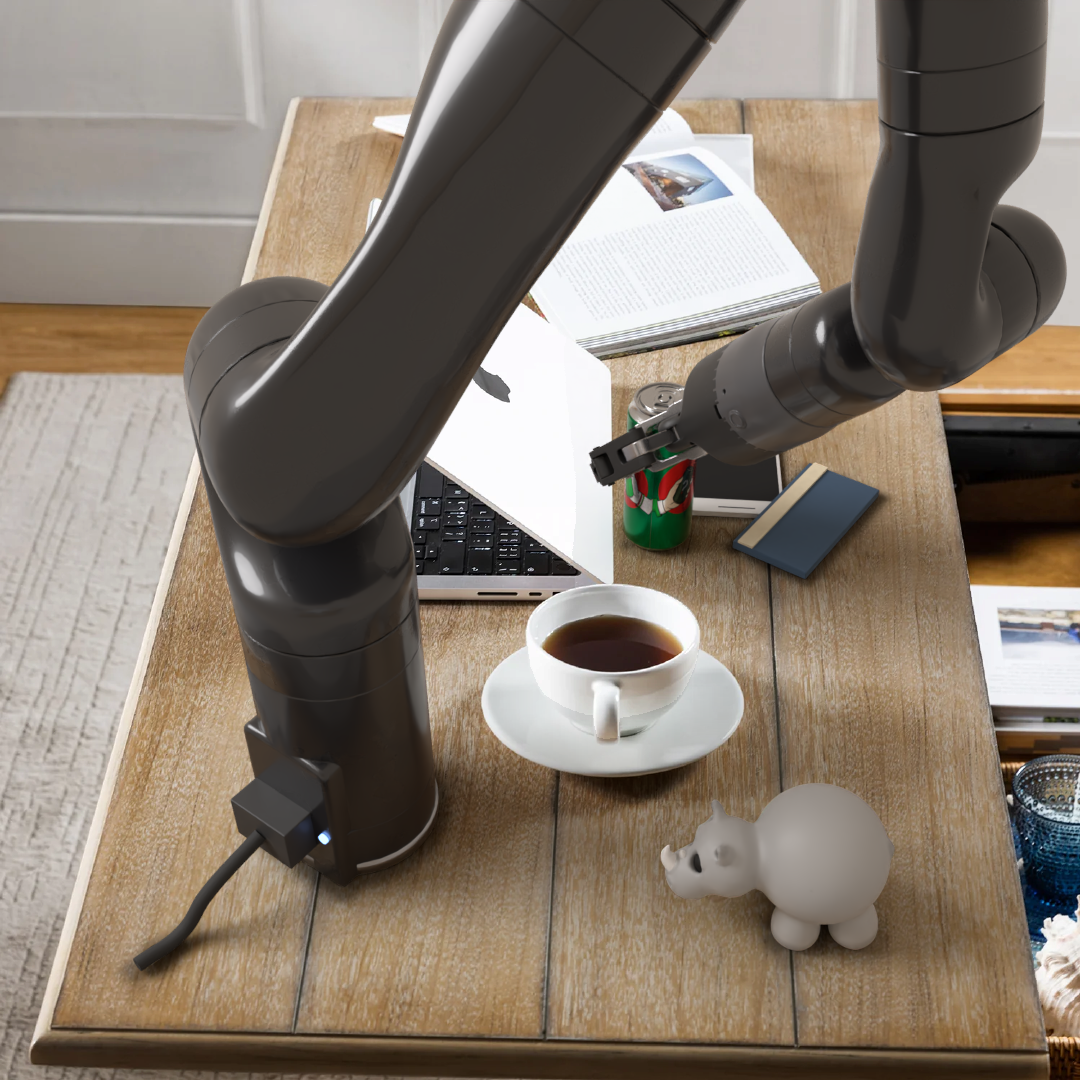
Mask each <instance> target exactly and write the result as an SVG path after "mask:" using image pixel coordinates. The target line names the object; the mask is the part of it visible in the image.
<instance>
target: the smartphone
mask: <svg viewBox="0 0 1080 1080" xmlns="http://www.w3.org/2000/svg"><path fill="white" fill-rule="evenodd" d="M781 473H782V472H781V462H780V454H779V455H776V456H774V457H771V458H769V459H767V460H764V461H762V462H759V463H757V464H753V465H748V466H736V465H731V464H727V463H724V462H722V461H719V460H717V459H716V458H714V457H712V456H711V455H710V454H707V455H705V456H702V457H700V458H697V466H696V477H695V489H694V500H693V511H692V516H703V517H720V518H721V517H723V518H744V519H755V518H756V517H757V516H758V515H759V514H760V513H761V512H762V511H763V510H764V509H765V508H766V507H767V506H768V505H769V504H770V503H771V502H772V501H773V500H774V499H775V498H776V497H777V496H778V495H779V494H780V493H781V492H782V491H783V483H782V474H781Z"/></svg>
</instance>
